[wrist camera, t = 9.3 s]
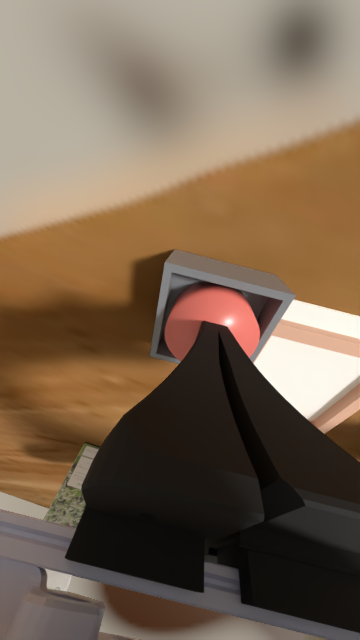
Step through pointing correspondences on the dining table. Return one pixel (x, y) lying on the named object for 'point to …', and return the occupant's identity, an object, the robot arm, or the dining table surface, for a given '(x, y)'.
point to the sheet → (311, 361)
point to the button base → (190, 269)
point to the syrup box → (69, 506)
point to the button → (210, 317)
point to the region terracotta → (329, 341)
